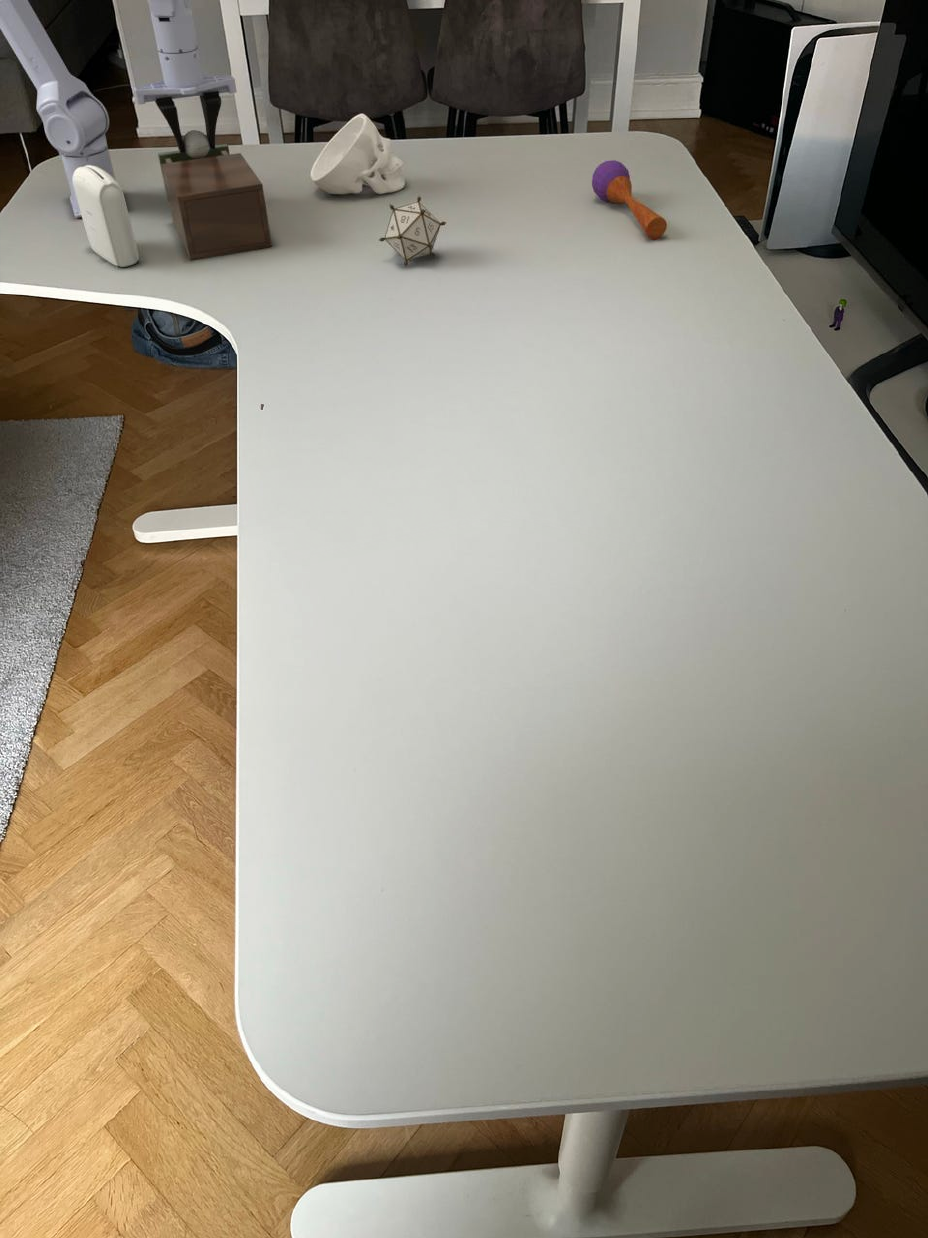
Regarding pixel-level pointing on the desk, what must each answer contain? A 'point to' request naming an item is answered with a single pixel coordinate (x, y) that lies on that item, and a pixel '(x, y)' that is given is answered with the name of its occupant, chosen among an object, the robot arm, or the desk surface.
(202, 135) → the golf ball
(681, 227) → the desk surface
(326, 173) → the skull bowl
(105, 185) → the photo printer
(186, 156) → the drawer
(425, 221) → the game die
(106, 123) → the robot arm
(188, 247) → the cabinet
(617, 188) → the purple and orange maraca
